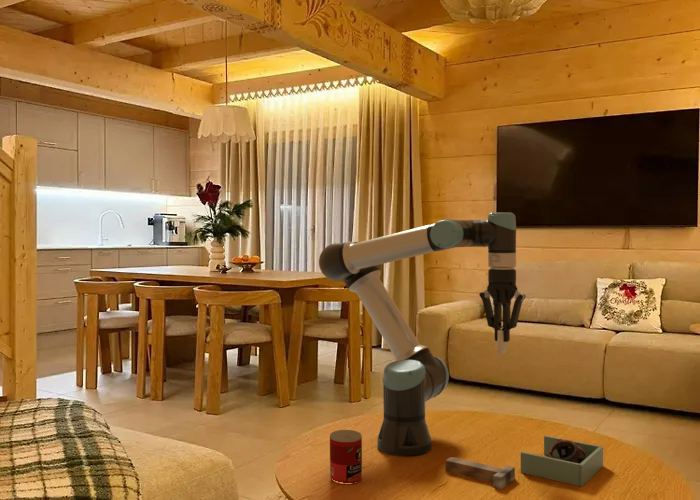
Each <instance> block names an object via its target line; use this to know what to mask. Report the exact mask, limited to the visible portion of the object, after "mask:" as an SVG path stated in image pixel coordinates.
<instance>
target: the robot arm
mask: <svg viewBox="0 0 700 500" xmlns="http://www.w3.org/2000/svg"><path fill="white" fill-rule="evenodd" d="M516 222H517V219H516V215H515V214H514V213H513V212H489V213H488V215H487V219H483V220H481V219H479V220H477V219H476V220H475V219H467V220H466V219H450V218H447V219H441V220H438V221H436V222H435V223H432V224H427V225H422V226H418V227H415V228H411V229H407V230H404V231H399V232H395V233H390V234H388V235H384V236H379V237H375V238H371V239H367V240H363V241H346V242H336V243H335V242H334V243H332V244H329V245H327V246H326V247H324V249H323V250H322V251H321V252H320V255H319V258H318V265H319V267H318V268H319V269H320V272H321V273H322V274H323V276H324V277H326V278H327V279H329V280H330V281H334V282H343V283H344V284H345V286H346V288H347V290H348V291H349V292H351V293H355V294H356V295H357V297H358V298H359V300H360V302H361V304H362V306H363V307H364V309H365V310H366V312H367V313H368V315H369V317H370V319H371V321H372V322H373V323H374V325H375V327H376V329H377V330H378V332H379V334H380V335H381V337H382V339H383V340H384V342H385V343H386V345H387V347H388V349H389V350H390V351H391V354H392V355H393V356H394V358H395V360H394V361H391V362H390V363H388V364H387V365H386V366H385V367H384V369H383V376H382V386H383V387H382V389H383V391H382V392H383V395H382V397H383V405H382V406H383V420H382V423H381V427H380V430H379V432H378V435H377V436H378V437H377V442H376V443H377V449H378V450H379V451H381V452H382V453H385V454H389V455H393V456H403V457H404V456H406V457H410V456H418V455H423V454H426V453H428V452H430V451H431V450H432V445H433V444H432V437H431V434H430V430H429V428H428V424H427V421H426V402H427V401H429V400H432V399H434V398H436V397H437V396H439V395H440V394H441V393H442V392H444V390H445V389H446V388H447V386H448V384H449V379H450V373H449V370H448V366H447V364H446V363H445V362H444V360H442V359H441V358H440V357H439V356H435V355H434V354H433V353H432V352H431V349H430V348H429V347H428V346H426V345H422V344H420V341H419V340H418V339H417V337H416V336H415V334H414V332H413V330H412V329H411V327H410V326H409V324H408V322H407V320H406V318H405V317H404V316H403V314H402V313H401V311H400V309H399V307H397V305H396V303H395V301H394V300H393V298H392V297H391V295H390V294H389V292H388V290H387V289H386V287H385V286H384V283H383V282H382V281H381V273H382V271H381V270H380V267H379V266H380V265H383V264H388V263H392V262H396V261H400V260H406V259H410V258H413V257H417V256H422V255H427V254H430V253H431V254H432V253H435V252H440V251H444V250H449V249H455V248H468V247H473V248H475V247H482V248H483V247H484V248H485V247H488V248H487V252H488V253H487V254H488V255H487V256H488V257H487V258H488V259H487V260H488V262H487V263H488V264H487V266H488V267H489V269H488V270H487V273H488V274H487V277H488V278H487V281H488V285H487V287H486V289H485V290H484V291H482V292H479V293H478V294H479V297H480V299H481V301H482V304H483V309H484V313H485V317H486V322H487V326H488V327H490V328H493V330H494V341H495V342H497V354H498V355H504V354H506V353H507V349H508V348H507V345H508V342H510V340H511V339H510V337H511V336H510V335H511V333H510V332H511V329H515V328H517V326H518V321H519V317H520V312H521V308H522V304H523V302H524V300H525V298H526V294H525V293H521V291H518V287H517V285H516V284H517V270H516V269H515V268H516V267H517V231H518V230H517V223H516ZM490 297H491V298H492V301H493V302H491V298H490ZM513 298H514V303H513V307H512V312H511V306H512V300H513ZM492 304H493V305H492Z"/></svg>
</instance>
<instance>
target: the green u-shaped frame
mask: <svg viewBox="0 0 700 500" xmlns="http://www.w3.org/2000/svg"><path fill="white" fill-rule="evenodd" d="M559 439H563V440H567V439H565V438H561V437H560V438H559V437H555V436H550V435H544V437H543V455H540V454H535V453H530V452H526V451H521V452H520V473H523V474H527V475H532V476H534V477H538V478H543V479H549V480H552V481H553V480H554V481H557V482H560V483H566V484H569V485H570V484H571V485H575V486H578V487H583V486H584V485H586V483H588V481H590V480H591V479H592V478H593V477H594V475H595V474H597V472H598V471H599V470H601V469H602V468H603V467H604V446H602V445H597V444H591V443H587V442H586V443H585V442H581V441H576V440H570V439H569V440H570V441H573V442H574V443H575V444H576V445H578V446H579V447H581V448H582V449H583V451H584V452H585V457H586V459H585V460H584V461H582V462H581V463H580V464H578V463H574V462H569V461H564V460H559V459H555V458H550V457H549V456H550V454H549V449H550V448H551V446H552V445H553V444H555V443H556V441H557V440H559ZM568 448H571V447H570V446H569V447H568ZM553 456H554V457H556V458H559V454H558V453H557V450H556V449H555V450H554V451H553Z"/></svg>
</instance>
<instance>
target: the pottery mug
mask: <svg viewBox="0 0 700 500" xmlns="http://www.w3.org/2000/svg"><path fill="white" fill-rule="evenodd" d="M563 439H564V438H561V439H559V440H557V441H556V443H555V444H553V445H552V446H551V448H550V449H549V454H550V456H548V457H550V458H555V459H559V460H564V461H569V462H574V463H578V464H580V463H581V462H582V461H584V460H585V459H586V457H585V452H584V451H583V449H582V448H581V447H579V446H578V445H576V444H575V443H574V442H573V441H574V440H571V441H570V439H566V440H563ZM569 446H570V447H571V448H568V447H569ZM555 449H556V450H557V453H558V454H559V458H558V457H554V456H553V451H554V450H555Z"/></svg>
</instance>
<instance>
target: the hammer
mask: <svg viewBox="0 0 700 500" xmlns="http://www.w3.org/2000/svg"><path fill="white" fill-rule="evenodd" d="M445 472H446V473H450V474H456V475H459V476H462V477H467V478H471V479H476V480H479V481H483V482H486V483H487V482H488V483H491V484H492V485H493V488H494V489H496V490H497V489H498V490H503V489H504V488H506V487H507V486H508V485H509V484H510V483H511V482H512V481H514V480H516V479H515V478H516V476H515V475H516V466H515V467H514V466H512V465H506V466H505V467H503V468H502V467H498V466H492V465H488V464H484V463H479V462H476V461H471V460H467V459H462V458H457V457H453V456H451V457H449V458H447V459H446V460H445Z"/></svg>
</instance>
